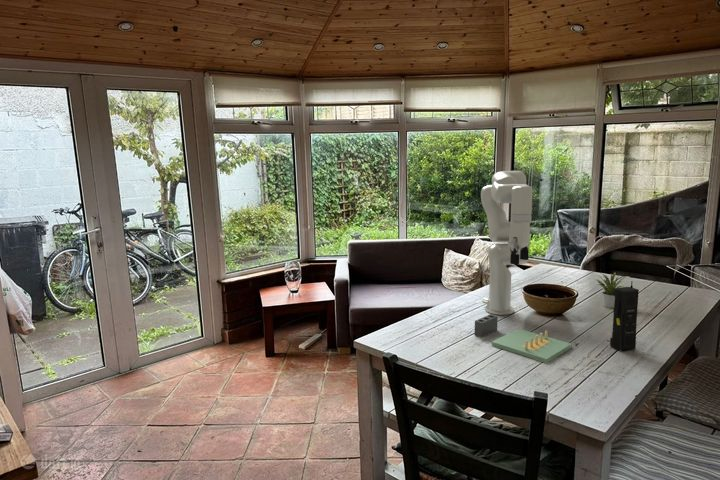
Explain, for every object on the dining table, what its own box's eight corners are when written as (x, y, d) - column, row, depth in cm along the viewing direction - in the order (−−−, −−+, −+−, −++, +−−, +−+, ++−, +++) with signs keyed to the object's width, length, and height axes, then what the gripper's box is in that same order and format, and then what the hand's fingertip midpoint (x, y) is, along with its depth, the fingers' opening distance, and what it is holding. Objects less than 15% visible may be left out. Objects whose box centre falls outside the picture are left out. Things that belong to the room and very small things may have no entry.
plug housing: (474, 334, 193) (474, 320, 192) (489, 327, 200) (490, 314, 199) (482, 337, 191) (482, 323, 190) (497, 330, 198) (497, 316, 197)
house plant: (620, 301, 230) (623, 268, 227) (634, 310, 216) (637, 275, 213) (590, 301, 231) (592, 268, 228) (601, 310, 218) (603, 275, 215)
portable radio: (619, 352, 173) (624, 286, 169) (606, 346, 179) (611, 281, 174) (637, 349, 175) (642, 284, 171) (624, 343, 181) (629, 279, 177)
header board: (491, 345, 183) (492, 332, 182) (518, 332, 195) (518, 320, 194) (546, 363, 167) (547, 349, 166) (571, 347, 179) (572, 334, 178)
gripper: (519, 215, 191) (518, 256, 194) (502, 220, 178) (501, 264, 181) (538, 216, 187) (537, 259, 190) (522, 221, 174) (520, 267, 176)
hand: (519, 261), depth 185 cm, fingers open, 9 cm apart
